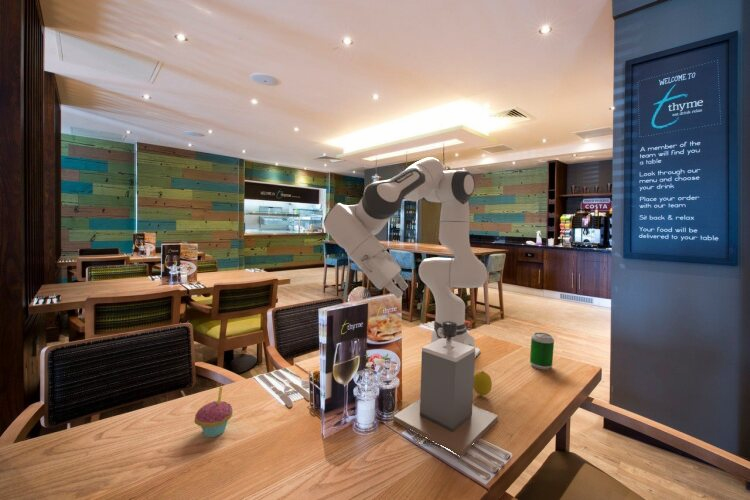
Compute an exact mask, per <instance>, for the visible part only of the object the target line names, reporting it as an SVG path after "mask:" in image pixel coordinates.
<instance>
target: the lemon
mask: <svg viewBox="0 0 750 500" xmlns="http://www.w3.org/2000/svg"><path fill="white" fill-rule="evenodd" d="M492 385H493V384H492V379H491V377H490V375H489V374H488V373H487V372H485V371H483V370H481V371H478V372H475V373H474V384H473V391H474V392H475V393H476V395H477V394H478V395H479V396H480V397H483V396H487V395H489V393H490V392H491V390H492Z"/></svg>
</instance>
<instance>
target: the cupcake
mask: <svg viewBox="0 0 750 500" xmlns="http://www.w3.org/2000/svg"><path fill="white" fill-rule="evenodd" d="M218 389H219V390H218V396H217V400H214V401H211V402H209V403H207V404H205V405H202V407H200V408H199V409H198V410H197V412H196V413H195V415H194V416H195V418H194V423H195V425H197V426H199V427H200V428H201V429H202V431H203V435H204V436H205V437H207V436H208V438H214V437H213V436H215V437H217V435H218V436H220V435H222V434H223V433H224V432H225V431H224V430H226V427H227V424H228V421H229V420H231V418H232V416H233V406H232V405H231V404H230V403H227V402H226V401H222V395H223V394H222V393H223V392H222V391H223V383H221V385H220V386H219V388H218ZM221 433H222V434H221Z"/></svg>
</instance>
